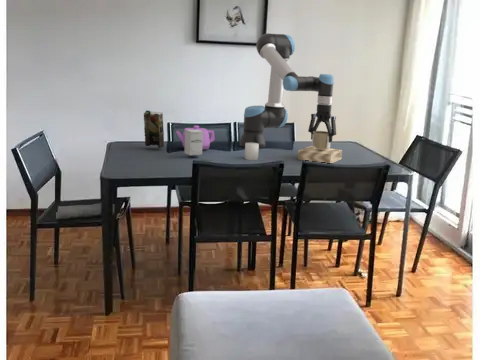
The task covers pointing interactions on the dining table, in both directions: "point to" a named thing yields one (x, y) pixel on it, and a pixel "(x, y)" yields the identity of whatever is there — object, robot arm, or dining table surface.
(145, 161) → the dining table surface
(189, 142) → the supplement box
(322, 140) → the flower pot
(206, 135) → the teakettle
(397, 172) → the dining table surface
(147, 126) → the juice carton
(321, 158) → the maple block
